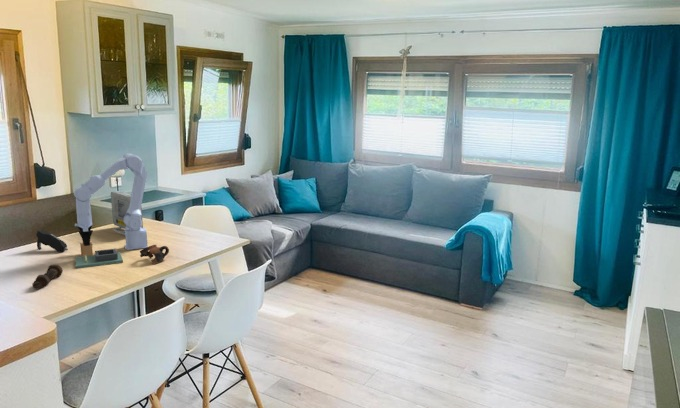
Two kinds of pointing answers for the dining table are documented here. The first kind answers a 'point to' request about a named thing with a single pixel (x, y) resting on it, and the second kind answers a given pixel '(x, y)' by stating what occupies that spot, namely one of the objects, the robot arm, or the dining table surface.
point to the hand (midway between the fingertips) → (86, 243)
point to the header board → (99, 258)
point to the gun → (50, 241)
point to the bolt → (47, 276)
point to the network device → (120, 209)
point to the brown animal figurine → (155, 253)
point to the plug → (86, 249)
